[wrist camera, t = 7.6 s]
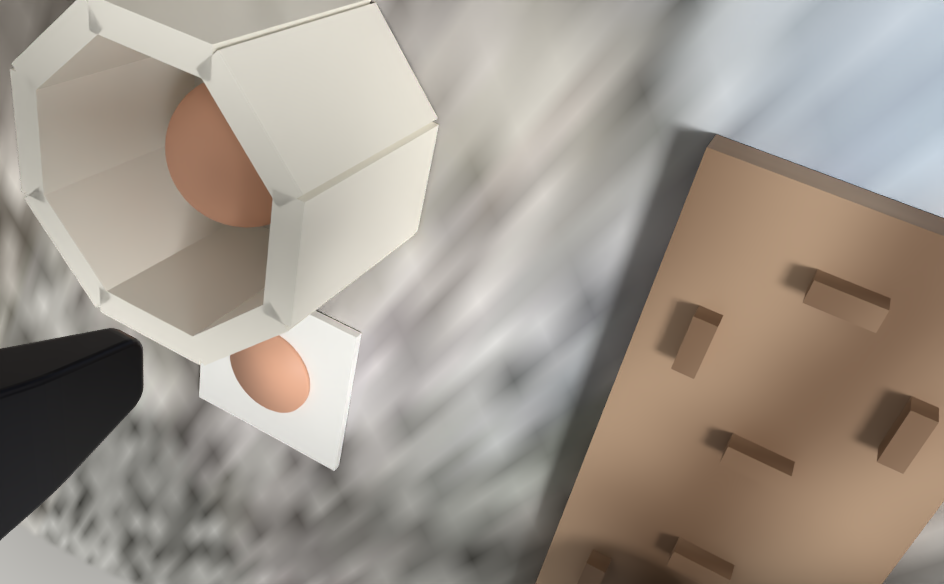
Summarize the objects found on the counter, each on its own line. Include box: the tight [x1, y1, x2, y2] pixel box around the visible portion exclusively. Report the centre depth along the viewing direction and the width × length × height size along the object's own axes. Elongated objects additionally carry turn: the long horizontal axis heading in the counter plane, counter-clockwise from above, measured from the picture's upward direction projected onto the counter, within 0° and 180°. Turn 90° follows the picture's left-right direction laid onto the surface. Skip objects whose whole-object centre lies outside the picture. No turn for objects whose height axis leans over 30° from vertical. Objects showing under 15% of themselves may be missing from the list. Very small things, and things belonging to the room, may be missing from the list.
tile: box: [199, 310, 362, 471], centre depth 29 cm, size 6×6×1 cm
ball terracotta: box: [165, 82, 273, 228], centre depth 23 cm, size 4×4×4 cm
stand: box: [535, 134, 944, 584], centre depth 23 cm, size 8×18×2 cm, turn 167°
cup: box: [10, 0, 439, 366], centre depth 22 cm, size 8×8×6 cm
